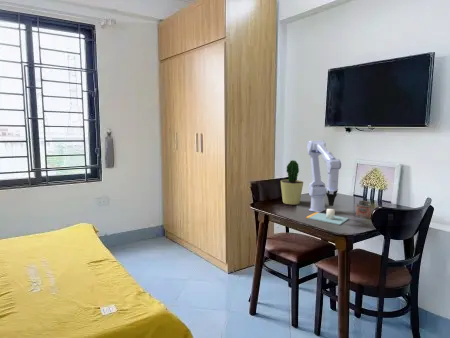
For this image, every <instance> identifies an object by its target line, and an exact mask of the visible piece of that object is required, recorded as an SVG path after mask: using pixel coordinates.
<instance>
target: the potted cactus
mask: <svg viewBox="0 0 450 338" xmlns="http://www.w3.org/2000/svg"><path fill="white" fill-rule="evenodd" d="M285 170H286V174H287V178H288V179H281V180H280V188H281V197H282V202H283V204H286V205H299V204H300V201H301V196H302V191H303V187H304V181H302V180H298V176H299V174H300V173H299V172H300V168H299V163H298V162H297V161H296V160H294V159H292V160H290V161H289V162H288V163H287V164H286V168H285Z"/></svg>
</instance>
